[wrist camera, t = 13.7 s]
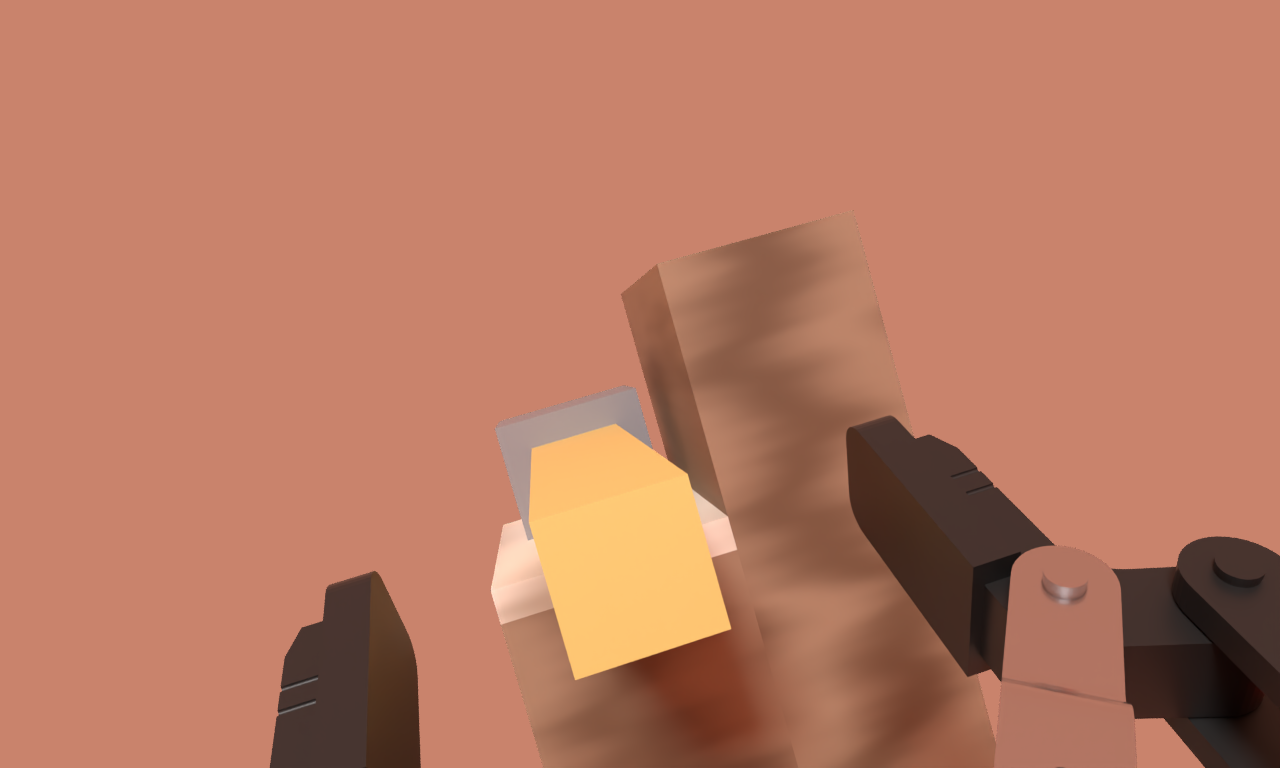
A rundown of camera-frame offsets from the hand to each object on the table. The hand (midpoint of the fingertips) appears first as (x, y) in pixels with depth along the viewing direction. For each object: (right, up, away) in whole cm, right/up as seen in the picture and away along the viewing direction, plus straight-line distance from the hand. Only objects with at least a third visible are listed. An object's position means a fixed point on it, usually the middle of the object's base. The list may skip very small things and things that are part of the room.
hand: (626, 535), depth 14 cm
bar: (-1, -2, +10) cm, 11 cm away
